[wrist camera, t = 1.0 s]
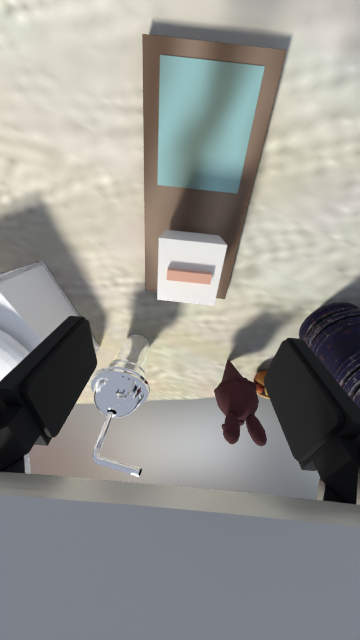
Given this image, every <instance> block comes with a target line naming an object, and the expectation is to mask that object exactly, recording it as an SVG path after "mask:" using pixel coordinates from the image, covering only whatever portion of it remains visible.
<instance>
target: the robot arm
mask: <svg viewBox="0 0 360 640" xmlns="http://www.w3.org/2000/svg"><path fill="white" fill-rule="evenodd" d="M96 366H97V358H96V354H95V349H94V344H93V339H92V335H91V330H90V325H89V322H88V321H87V320H85V318H84V317H80V316H69V317H68V318H67V319H66V320H64V321H63V322H62V323H61V324H60V325H59V326H58V327H57V328H56V329H55V330H54V331H53V332H52V333H51V334H50V335H49V336H47V337H46V338H45V339H44V340H43V341H42V342H41V343H40V344H39V345H38V346H37V347H36V348H35V349H34V350H33V351H31V352H30V353H29V354H28V355H27V356H26V357H25V358H24V359H23V360H22V361H21V362H20V363H19V364H18V365H17V366H16V367H14V368H13V369H12V370H11V371H10V372H9V373H8V374H7V375H6V376H5V377H4V378H3V379H2V380H1V381H0V640H360V409H359V407H358V406H357V405H356V404H355V403H354V401H353V400H352V399H351V398H350V397H349V395H348V394H347V393H346V392H345V390H344V389H343V388H342V387H341V386H340V384H339V383H338V382H337V381H336V379H335V378H334V377H333V376H332V375H331V373H330V372H329V371H328V370H327V368H326V367H325V366H324V365H323V364H322V362H321V361H320V360H319V359H318V358H317V356H316V355H315V354H314V353H313V351H312V350H311V349H310V348H309V347H308V345H307V344H306V343H305V342H304V341H303V340H302V339H296V338H287V339H286V340H285V341H283V342H282V343H281V345H280V347H279V349H278V351H277V353H276V355H275V357H274V359H273V361H272V363H271V365H270V367H269V369H268V371H267V373H266V375H265V377H264V385H265V388H266V390H267V393H268V395H269V398H270V400H271V402H272V405H273V407H274V410H275V413H276V415H277V417H278V420H279V422H280V425H281V427H282V430H283V432H284V435H285V437H286V440H287V442H288V444H289V447H290V449H291V452H292V454H293V456H294V458H295V459H296V460H297V461H298V462H299V464H300V466H301V468H302V470H310V471H316V470H317V471H318V473H319V475H320V481H319V486H318V491H317V496H316V500H313V499H302V498H292V497H282V496H271V495H261V494H251V493H241V492H230V491H220V490H209V489H199V488H188V487H177V486H166V485H155V484H145V483H133V482H122V481H110V480H100V479H88V478H76V477H65V476H53V475H39V474H31V472H30V461H29V451H30V450H31V448H32V447H33V445H34V444H36V445H46V446H47V445H48V444H49V442H50V440H51V438H52V437H55V436H56V435H58V433H59V431H60V430H61V428H62V426H63V424H64V423H65V421H66V419H67V417H68V416H69V414H70V412H71V410H72V409H73V407H74V405H75V403H76V402H77V400H78V398H79V396H80V395H81V393H82V391H83V389H84V388H85V386H86V384H87V382H88V381H89V379H90V377H91V375H92V374H93V372H94V370H95V368H96Z"/></svg>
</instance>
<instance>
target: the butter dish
mask: <svg viewBox="0 0 360 640" xmlns="http://www.w3.org/2000/svg"><path fill="white" fill-rule="evenodd" d="M69 316H79V315H78V313H77V312H76V310H75V309H74V307H73V306H72V304H71V303H70V301H69V300H68V298H67V297H66V295H65V294H64V292H63V291H62V289H61V288H60V286H59V285H58V283H57V282H56V280H55V279H54V277H53V276H52V274H51V273H50V271H49V270H48V268H47V267H46V265H45V264H44V262H43V261H40V262H37V263H34V264H31V265H28V266H24V267H21V268H18V269H15V270H12V271H9V272H6V273H2V274H0V381H1V380H2V379H3V378H4V377H5V376H6V375H7V374H8V373H9V372H10V371H11V370H12V369H13V368H14V367H16V366H17V365H18V364H19V363H20V362H21V361H22V360H23V359H24V358H25V357H26V356H27V355H28V354H29V353H30V352H31V351H33V350H34V349H35V348H36V347H37V346H38V345H39V344H40V343H41V342H42V341H43V340H44V339H45V338H46V337H47V336H49V335H50V334H51V333H52V332H53V331H54V330H55V329H56V328H57V327H58V326H59V325H60V324H61V323H62V322H63V321H64V320H66V319H67V318H68V317H69ZM92 339H93V344H94V349H95V354H96V353H97V351H98V350H99V345H98V344H97V342H96V341H95V339H94V338H93V336H92Z"/></svg>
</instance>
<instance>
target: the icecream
mask: <svg viewBox="0 0 360 640" xmlns="http://www.w3.org/2000/svg"><path fill="white" fill-rule="evenodd" d="M214 393H215V396H216V400H217V404H218V406H219V408H220V409H221V411H222V412H223V413H224V414H225V416H226V418H225V424H222V429H223V435H224V438H225V439H226V440H227V441H228V442H229V443H230V444H234V443H236V442H237V441H238V439H239V436H240V426H241V425H243V424H244V421H246V425H247V429H248V432H249V434H250V436H251V438H252V439H253V441H254V442H255V443H256V444H257V445H259V446H264V445H265V444H266V441H267V438H266V434H265V430H264V428H263V427H262V425H261V424H260V422H259V420H258V419H257V418H256V417H255V415H254V414H255V412H256V410H257V408H258V403H259V401H258V396H257V392H256V384H255V383H253V382H251V381H249V380H247V379H246V378H243V377H242V376H241V374H240V373H239V372H238V371H237V369H236V368H235V367H234V366H233V364H232V363H231V362H230V361H229V360H228V361H227V363H226V367H225V371H224V375H223V379H222V382H221V383H220V384H219V385H218V387H217V388H216V389H215V390H214Z"/></svg>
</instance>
